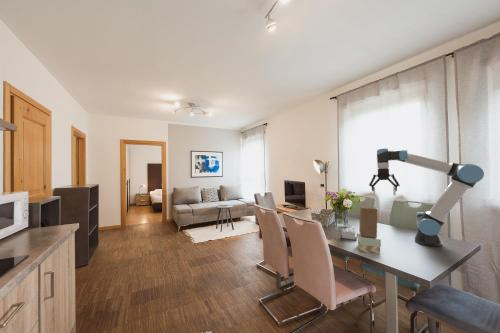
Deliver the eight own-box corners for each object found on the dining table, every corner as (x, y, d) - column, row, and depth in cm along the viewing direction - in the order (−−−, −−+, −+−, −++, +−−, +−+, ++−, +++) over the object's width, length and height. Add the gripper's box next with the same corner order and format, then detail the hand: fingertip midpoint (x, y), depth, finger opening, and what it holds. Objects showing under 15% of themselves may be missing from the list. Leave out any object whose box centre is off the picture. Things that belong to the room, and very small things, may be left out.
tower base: (376, 247, 149) (376, 240, 149) (380, 254, 138) (379, 246, 138) (358, 246, 154) (357, 239, 154) (360, 252, 143) (360, 245, 143)
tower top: (376, 240, 150) (375, 233, 150) (380, 246, 138) (380, 239, 138) (357, 239, 153) (357, 232, 154) (361, 245, 142) (360, 238, 142)
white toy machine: (344, 222, 185) (358, 224, 178) (344, 233, 185) (359, 235, 178) (340, 227, 170) (355, 229, 163) (340, 239, 170) (356, 241, 163)
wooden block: (377, 238, 140) (377, 209, 140) (360, 236, 144) (361, 207, 144) (374, 234, 149) (375, 207, 149) (359, 232, 153) (359, 205, 153)
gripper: (400, 167, 159) (401, 194, 159) (364, 168, 168) (365, 194, 168) (403, 167, 152) (405, 196, 152) (365, 168, 161) (367, 195, 161)
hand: (384, 195), depth 160 cm, fingers open, 13 cm apart
